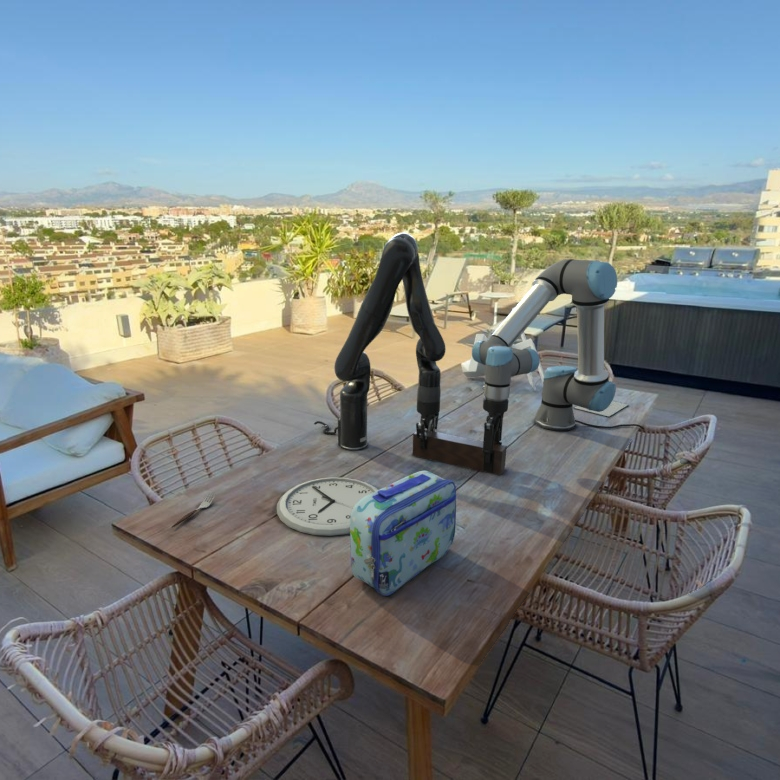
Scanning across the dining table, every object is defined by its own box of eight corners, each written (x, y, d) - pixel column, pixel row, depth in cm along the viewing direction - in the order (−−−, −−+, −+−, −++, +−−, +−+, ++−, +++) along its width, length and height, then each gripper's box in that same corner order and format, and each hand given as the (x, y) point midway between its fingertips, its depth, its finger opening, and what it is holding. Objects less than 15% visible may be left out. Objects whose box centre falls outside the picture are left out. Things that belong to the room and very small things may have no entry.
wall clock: (392, 527, 129) (268, 531, 127) (391, 533, 130) (269, 537, 127) (383, 473, 158) (282, 475, 155) (383, 478, 158) (282, 480, 156)
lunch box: (378, 608, 104) (379, 516, 98) (343, 583, 112) (342, 495, 105) (459, 554, 122) (465, 473, 116) (425, 535, 129) (428, 458, 123)
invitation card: (608, 416, 214) (573, 407, 224) (608, 416, 214) (573, 408, 224) (628, 404, 229) (594, 396, 238) (628, 405, 229) (594, 397, 238)
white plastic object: (482, 419, 265) (461, 396, 241) (463, 346, 287) (443, 319, 263) (553, 395, 253) (539, 368, 228) (528, 321, 275) (513, 290, 250)
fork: (167, 528, 130) (166, 521, 130) (209, 498, 145) (208, 492, 144) (175, 530, 130) (174, 523, 129) (216, 500, 144) (216, 494, 143)
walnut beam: (504, 469, 166) (506, 445, 164) (500, 475, 162) (502, 451, 160) (418, 450, 179) (419, 428, 177) (412, 455, 175) (413, 433, 172)
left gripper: (426, 390, 177) (424, 437, 182) (408, 402, 165) (407, 451, 170) (447, 393, 174) (445, 441, 179) (430, 406, 161) (428, 456, 166)
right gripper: (492, 388, 168) (487, 454, 175) (474, 404, 152) (469, 476, 159) (515, 391, 165) (509, 459, 172) (500, 408, 149) (493, 481, 156)
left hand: (426, 446), depth 174 cm, fingers closed on walnut beam, 5 cm apart
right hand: (490, 467), depth 166 cm, fingers closed on walnut beam, 5 cm apart
